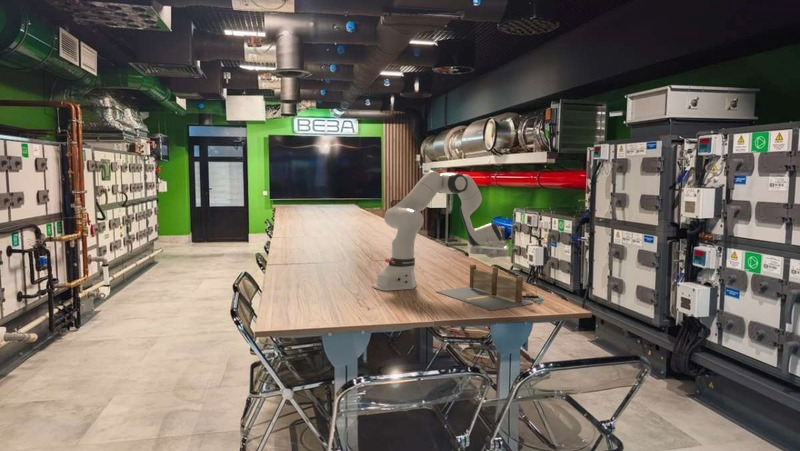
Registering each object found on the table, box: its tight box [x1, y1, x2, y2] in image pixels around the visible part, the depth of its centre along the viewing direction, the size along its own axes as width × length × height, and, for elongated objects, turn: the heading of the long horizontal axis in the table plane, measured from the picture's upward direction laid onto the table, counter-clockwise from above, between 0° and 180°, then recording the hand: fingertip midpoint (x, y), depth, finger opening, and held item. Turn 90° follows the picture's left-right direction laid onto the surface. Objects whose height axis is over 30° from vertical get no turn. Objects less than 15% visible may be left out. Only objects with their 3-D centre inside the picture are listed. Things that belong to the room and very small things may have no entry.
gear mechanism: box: [522, 287, 544, 305], centre depth 238 cm, size 20×5×9 cm
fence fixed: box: [492, 267, 524, 303], centre depth 235 cm, size 2×18×13 cm, turn 33°
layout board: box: [435, 286, 534, 312], centre depth 239 cm, size 24×39×1 cm, turn 32°
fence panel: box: [469, 264, 493, 293], centre depth 249 cm, size 2×15×11 cm, turn 32°
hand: (486, 252), depth 268 cm, fingers open, 4 cm apart
